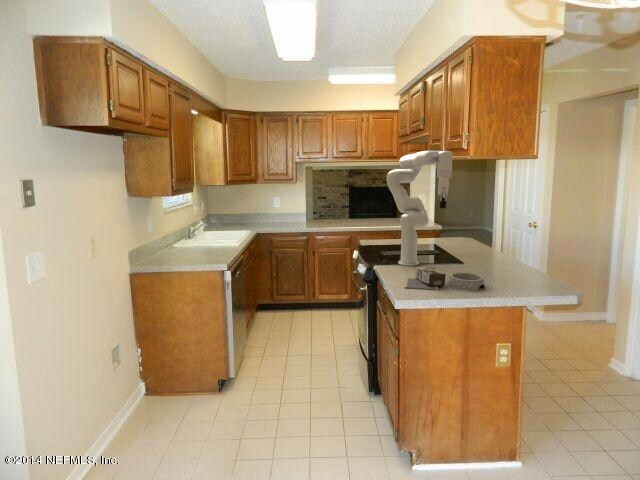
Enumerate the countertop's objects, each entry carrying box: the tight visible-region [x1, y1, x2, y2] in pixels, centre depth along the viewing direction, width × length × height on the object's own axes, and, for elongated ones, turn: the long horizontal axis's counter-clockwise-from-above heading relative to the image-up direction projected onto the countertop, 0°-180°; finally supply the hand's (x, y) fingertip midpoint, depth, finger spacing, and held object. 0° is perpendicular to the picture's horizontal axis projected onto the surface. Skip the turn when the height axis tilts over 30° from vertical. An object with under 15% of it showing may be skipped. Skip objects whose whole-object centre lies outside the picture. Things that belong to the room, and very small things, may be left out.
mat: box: [404, 277, 439, 291], centre depth 234 cm, size 18×16×1 cm
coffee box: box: [415, 266, 447, 287], centre depth 235 cm, size 9×6×16 cm
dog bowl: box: [447, 271, 485, 292], centre depth 231 cm, size 17×18×5 cm
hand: (442, 208), depth 248 cm, fingers closed
